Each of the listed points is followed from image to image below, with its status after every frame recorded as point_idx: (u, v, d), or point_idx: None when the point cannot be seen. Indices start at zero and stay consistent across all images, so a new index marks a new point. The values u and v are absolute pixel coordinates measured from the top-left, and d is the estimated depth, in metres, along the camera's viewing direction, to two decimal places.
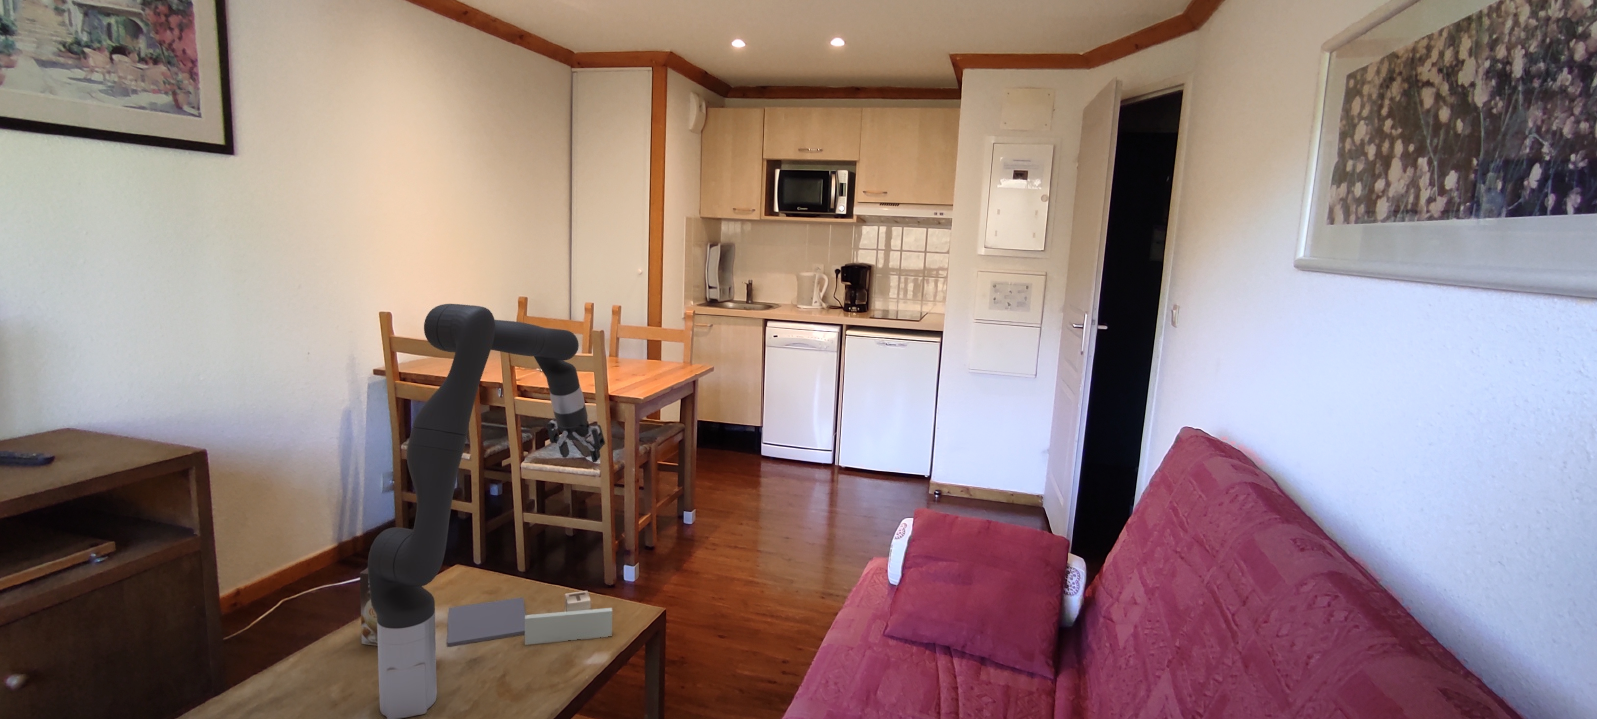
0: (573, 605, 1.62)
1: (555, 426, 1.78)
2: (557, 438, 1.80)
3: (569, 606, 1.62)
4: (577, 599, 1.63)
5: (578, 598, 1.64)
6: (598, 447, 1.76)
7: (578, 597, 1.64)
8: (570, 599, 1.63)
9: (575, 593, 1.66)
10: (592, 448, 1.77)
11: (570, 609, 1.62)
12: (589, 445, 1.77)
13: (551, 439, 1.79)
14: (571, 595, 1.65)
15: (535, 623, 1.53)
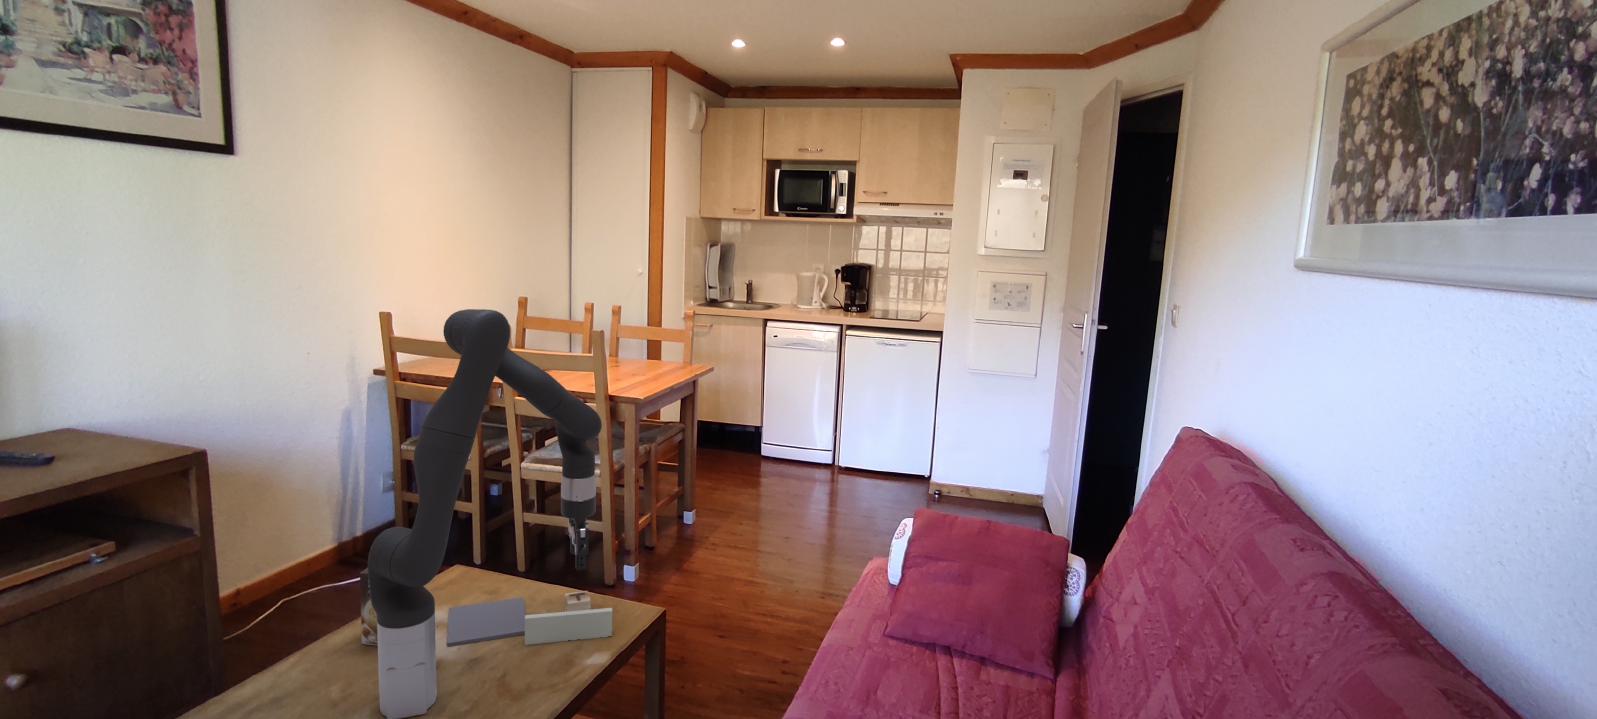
0: (573, 605, 1.62)
1: None
2: None
3: (569, 606, 1.62)
4: (577, 599, 1.63)
5: (578, 598, 1.64)
6: (576, 552, 1.56)
7: (578, 597, 1.64)
8: (570, 600, 1.63)
9: (575, 593, 1.66)
10: (575, 551, 1.58)
11: (570, 609, 1.62)
12: (575, 546, 1.59)
13: None
14: (571, 595, 1.65)
15: (535, 623, 1.53)
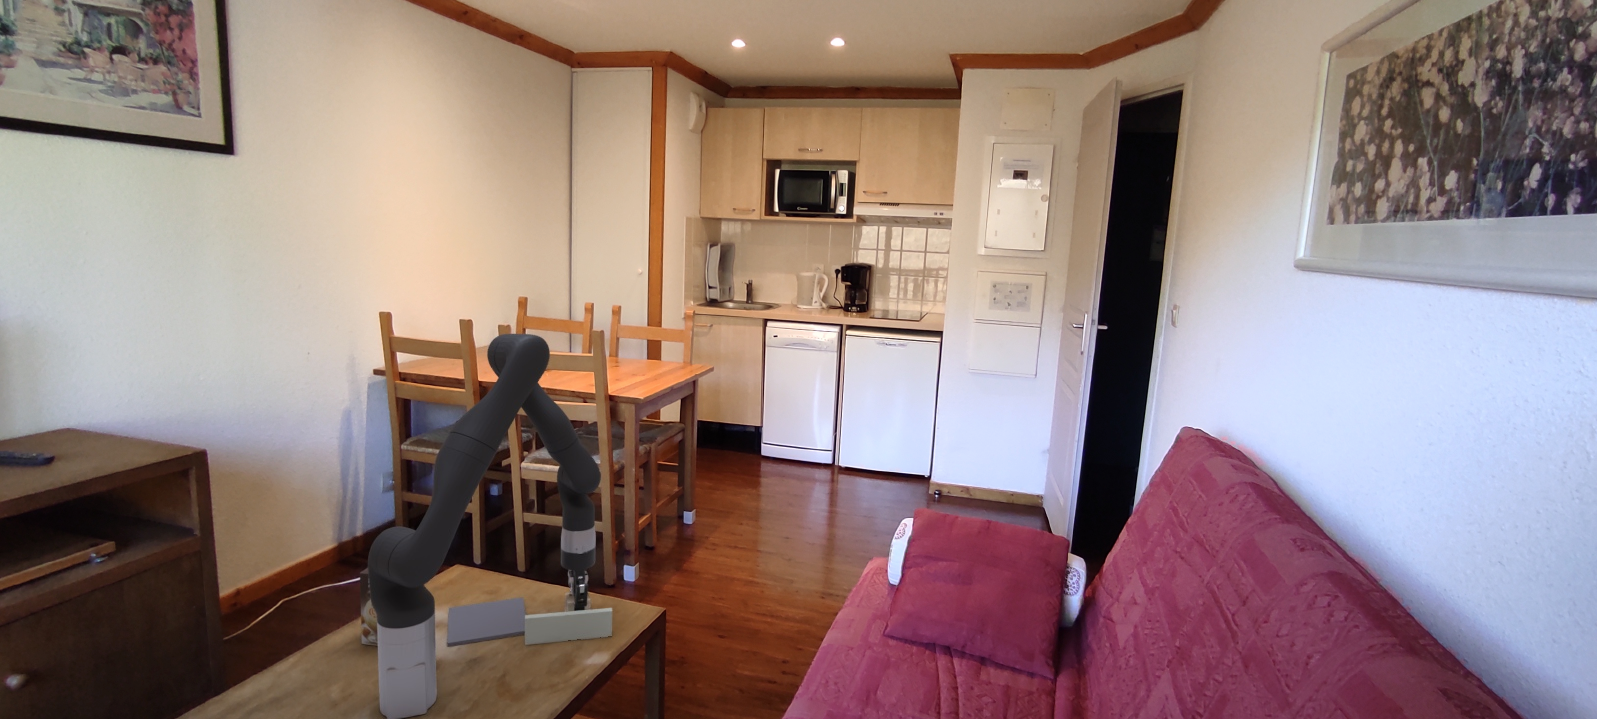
0: None
1: None
2: None
3: (569, 606, 1.62)
4: None
5: None
6: (575, 604, 1.59)
7: None
8: (570, 599, 1.63)
9: None
10: (574, 603, 1.61)
11: (570, 609, 1.62)
12: (574, 598, 1.62)
13: None
14: (571, 595, 1.65)
15: (535, 623, 1.53)
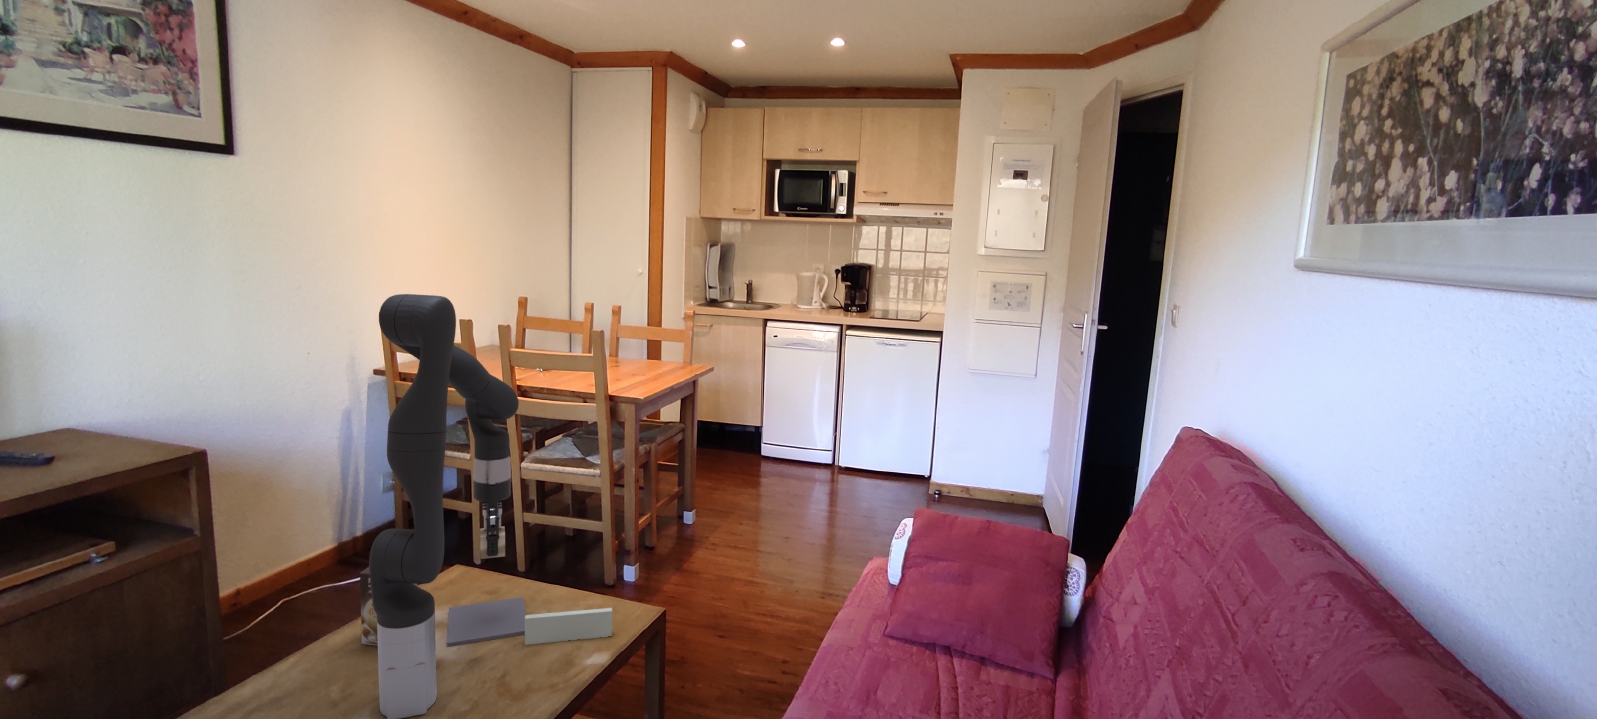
0: (486, 539, 1.55)
1: None
2: None
3: (481, 540, 1.55)
4: (491, 533, 1.57)
5: (492, 532, 1.57)
6: (486, 537, 1.53)
7: None
8: (483, 533, 1.56)
9: None
10: (486, 536, 1.54)
11: (483, 543, 1.55)
12: None
13: None
14: None
15: (535, 623, 1.53)
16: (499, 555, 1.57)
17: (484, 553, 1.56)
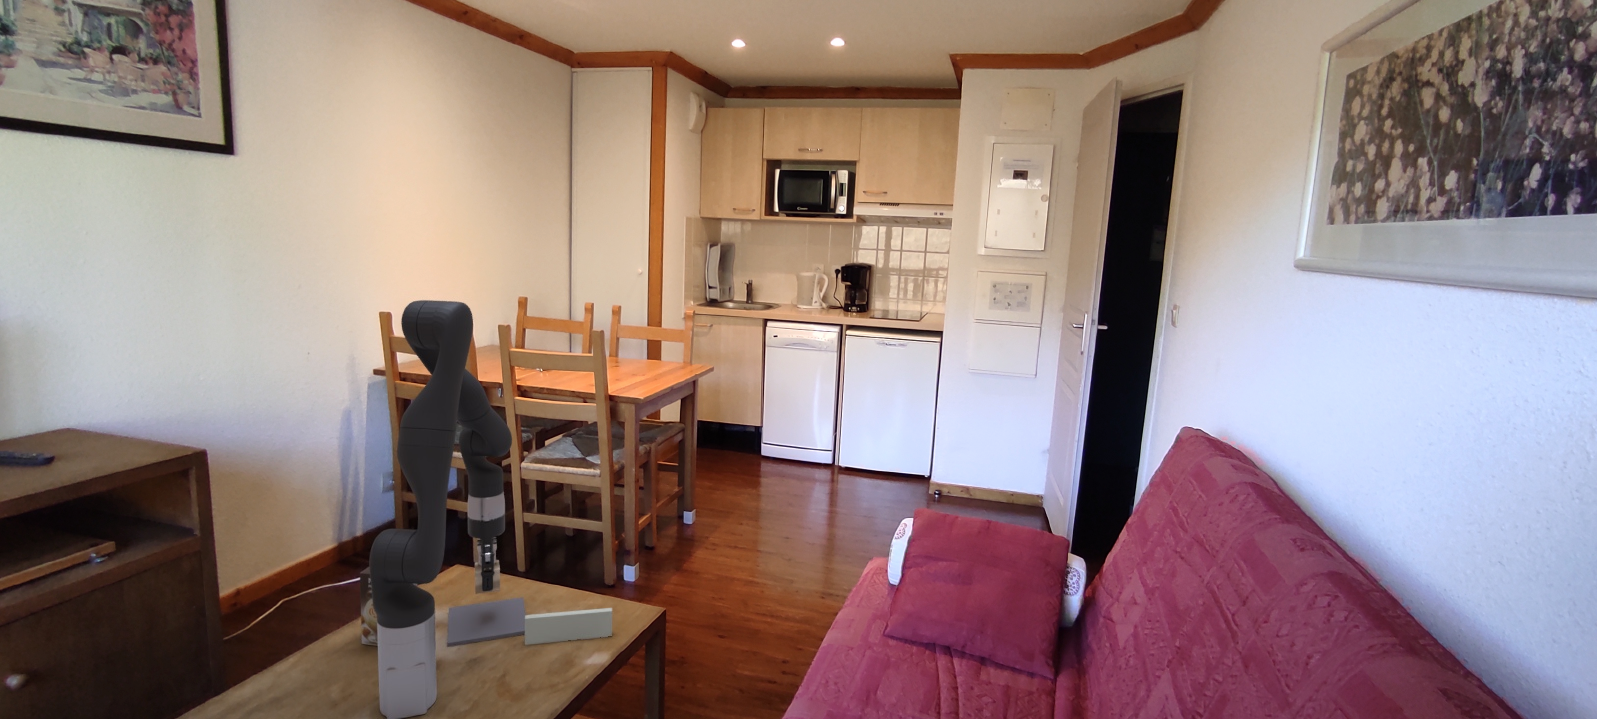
0: None
1: None
2: None
3: (476, 575, 1.56)
4: (485, 568, 1.58)
5: None
6: (481, 573, 1.54)
7: None
8: (478, 569, 1.58)
9: None
10: (481, 572, 1.56)
11: (478, 578, 1.56)
12: (481, 567, 1.56)
13: None
14: None
15: (535, 623, 1.53)
16: (494, 590, 1.58)
17: (479, 588, 1.57)
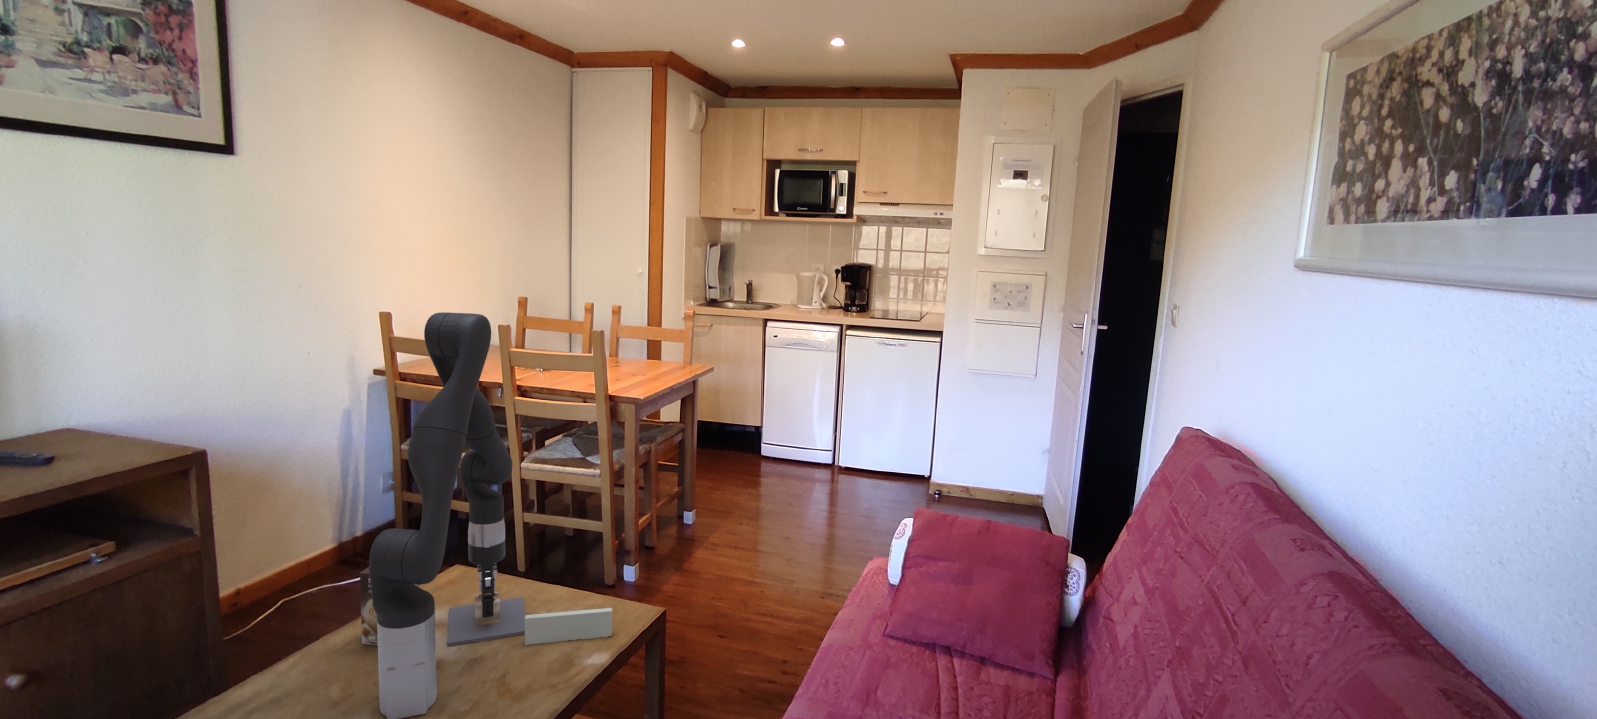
0: (481, 606, 1.58)
1: None
2: None
3: (477, 607, 1.57)
4: None
5: None
6: (481, 600, 1.54)
7: None
8: (478, 601, 1.59)
9: (485, 594, 1.62)
10: (481, 598, 1.56)
11: (478, 610, 1.57)
12: None
13: None
14: (481, 596, 1.61)
15: (535, 623, 1.53)
16: (494, 621, 1.59)
17: (480, 620, 1.58)
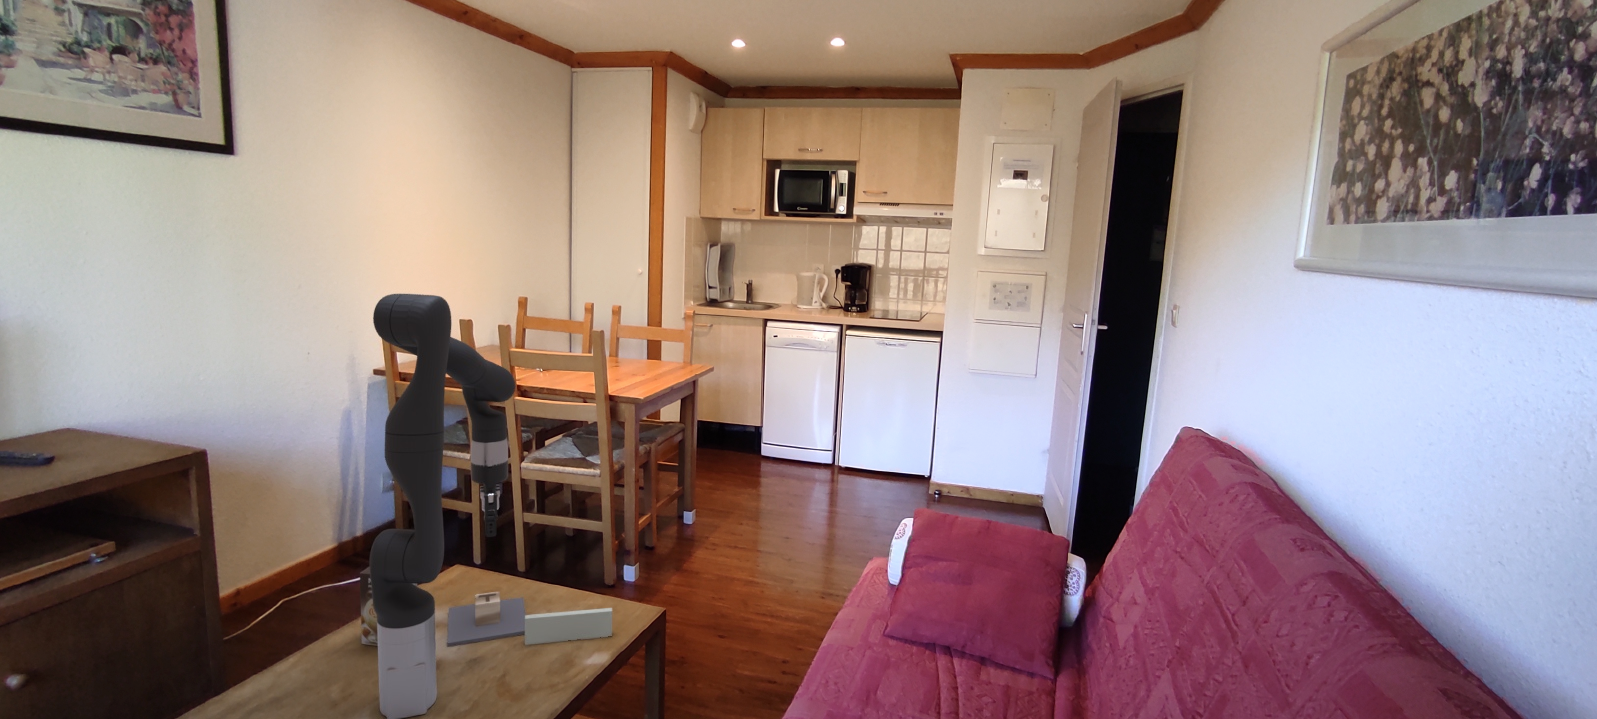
0: (481, 606, 1.58)
1: None
2: None
3: (477, 607, 1.57)
4: (486, 600, 1.59)
5: (487, 599, 1.59)
6: (484, 517, 1.52)
7: (487, 598, 1.60)
8: (478, 601, 1.59)
9: (485, 594, 1.62)
10: None
11: (478, 610, 1.57)
12: (484, 512, 1.55)
13: None
14: (481, 596, 1.61)
15: (535, 623, 1.53)
16: (494, 621, 1.59)
17: (480, 620, 1.58)
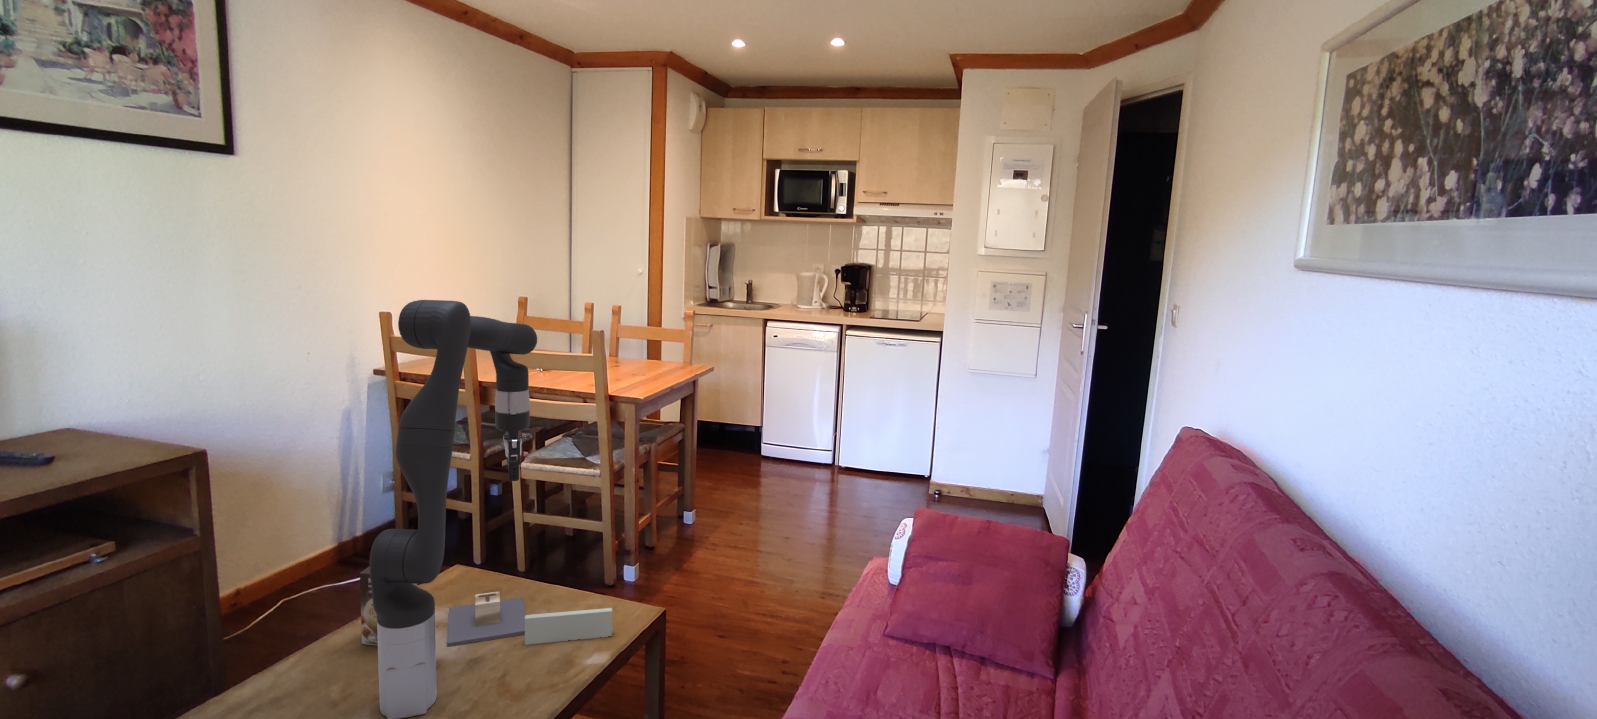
0: (481, 606, 1.58)
1: None
2: None
3: (477, 607, 1.57)
4: (486, 600, 1.59)
5: (487, 599, 1.59)
6: (508, 462, 1.63)
7: (487, 598, 1.60)
8: (478, 601, 1.59)
9: (485, 594, 1.62)
10: (508, 462, 1.64)
11: (478, 610, 1.57)
12: (508, 458, 1.65)
13: None
14: (481, 596, 1.61)
15: (535, 623, 1.53)
16: (494, 621, 1.59)
17: (480, 620, 1.58)
